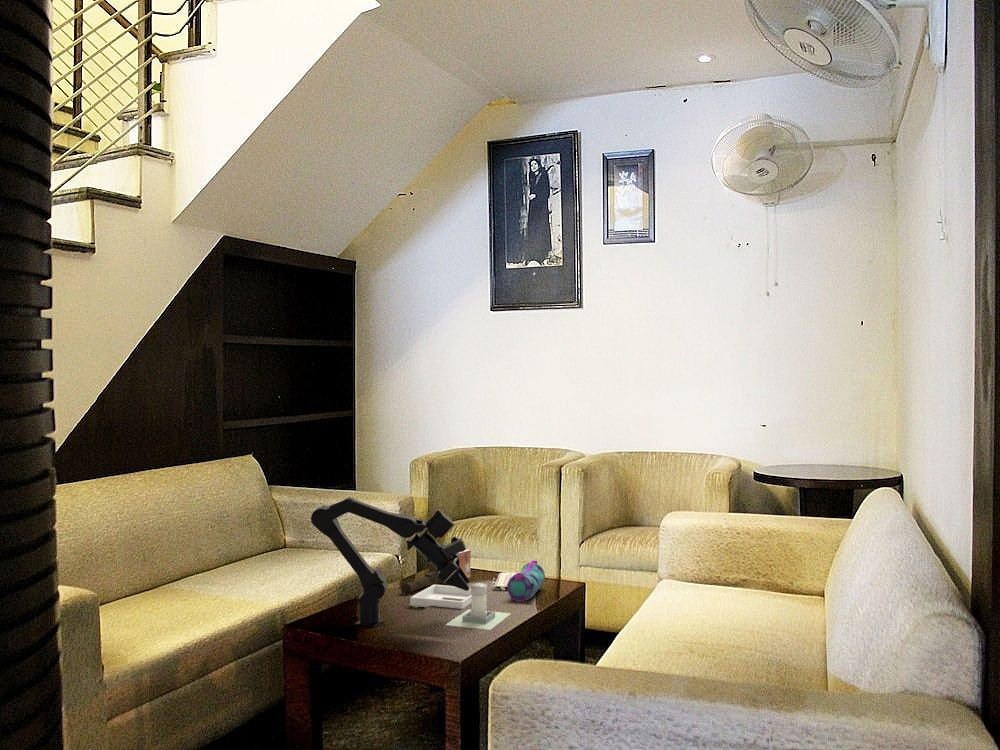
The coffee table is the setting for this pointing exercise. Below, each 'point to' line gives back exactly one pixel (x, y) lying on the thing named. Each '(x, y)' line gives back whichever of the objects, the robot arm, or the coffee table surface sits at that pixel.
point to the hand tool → (419, 583)
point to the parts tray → (441, 597)
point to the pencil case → (526, 582)
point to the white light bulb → (479, 600)
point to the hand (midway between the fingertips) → (468, 585)
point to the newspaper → (502, 580)
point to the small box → (465, 561)
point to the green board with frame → (478, 620)
